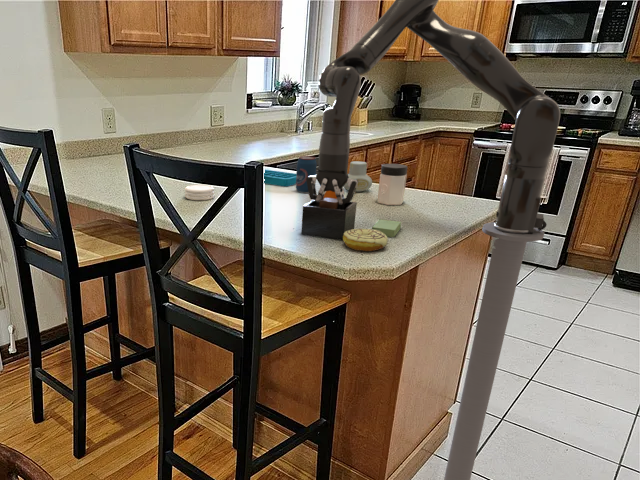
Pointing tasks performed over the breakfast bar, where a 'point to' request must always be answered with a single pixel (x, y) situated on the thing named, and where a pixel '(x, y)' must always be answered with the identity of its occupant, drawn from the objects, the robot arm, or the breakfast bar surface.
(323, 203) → the block
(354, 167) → the air freshener
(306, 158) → the soda can
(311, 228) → the black open box
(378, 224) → the sponge
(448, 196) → the breakfast bar surface
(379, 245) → the decorated donut
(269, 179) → the ice cube tray
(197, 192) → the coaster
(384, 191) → the jar
